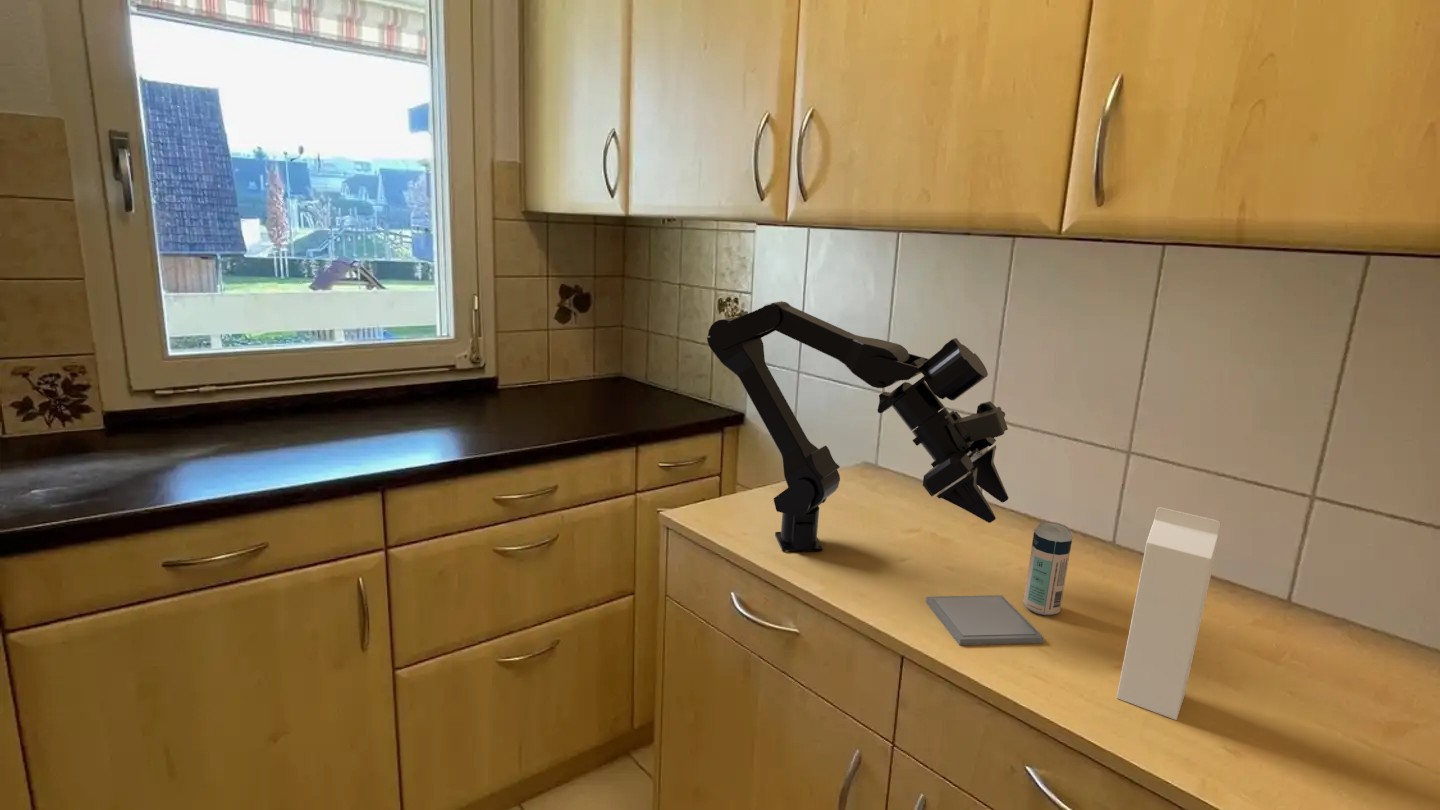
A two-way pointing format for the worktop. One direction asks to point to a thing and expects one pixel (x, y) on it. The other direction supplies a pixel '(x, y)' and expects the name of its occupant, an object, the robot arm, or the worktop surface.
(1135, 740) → the worktop surface
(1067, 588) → the worktop surface
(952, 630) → the trivet
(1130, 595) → the worktop surface
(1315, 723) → the worktop surface
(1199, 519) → the milk
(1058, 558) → the beer can
